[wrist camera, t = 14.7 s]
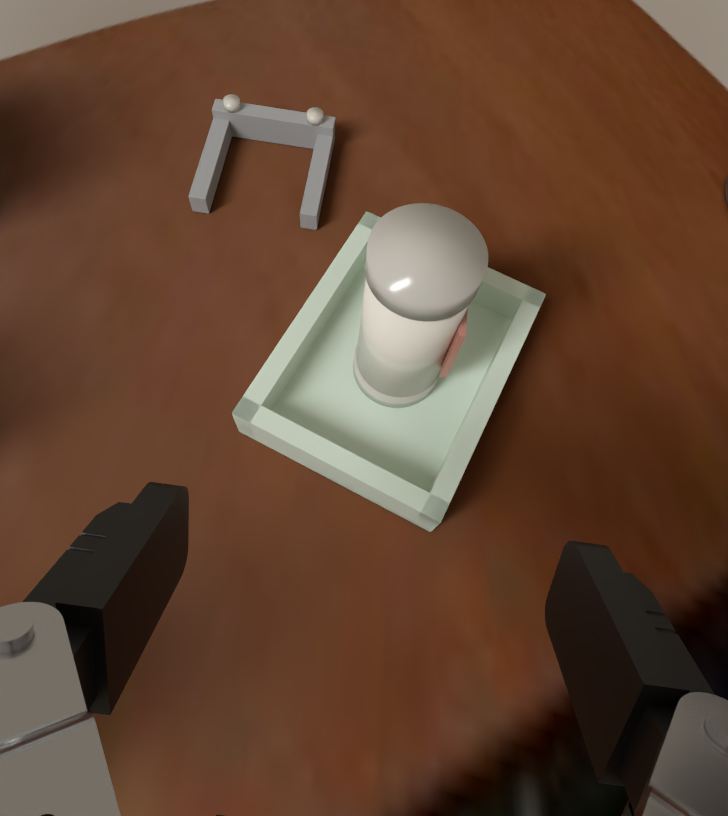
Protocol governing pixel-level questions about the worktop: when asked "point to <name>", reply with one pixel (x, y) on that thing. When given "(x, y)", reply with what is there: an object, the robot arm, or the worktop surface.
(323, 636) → the worktop surface
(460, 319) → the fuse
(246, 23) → the worktop surface
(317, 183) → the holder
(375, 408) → the tray
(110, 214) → the worktop surface
